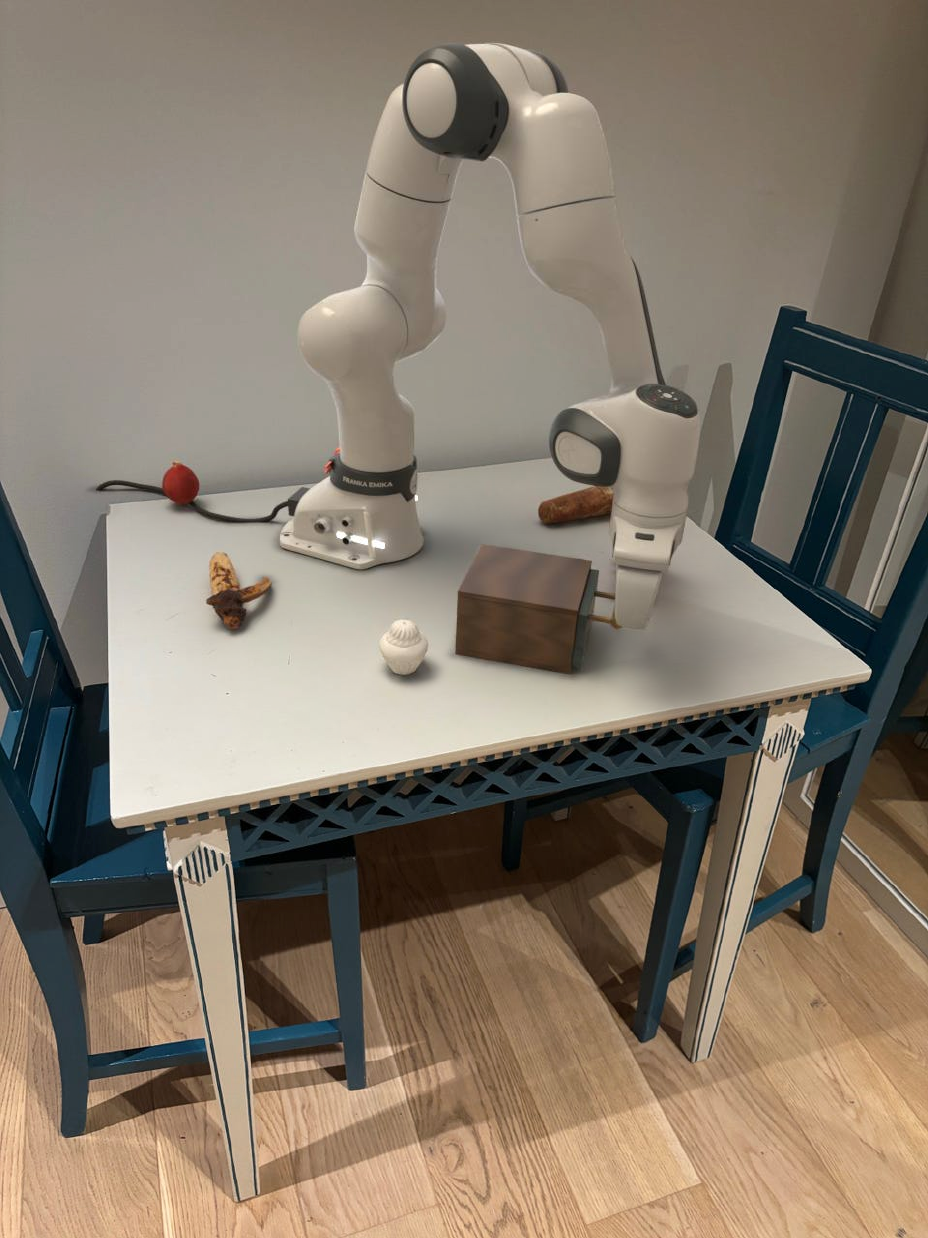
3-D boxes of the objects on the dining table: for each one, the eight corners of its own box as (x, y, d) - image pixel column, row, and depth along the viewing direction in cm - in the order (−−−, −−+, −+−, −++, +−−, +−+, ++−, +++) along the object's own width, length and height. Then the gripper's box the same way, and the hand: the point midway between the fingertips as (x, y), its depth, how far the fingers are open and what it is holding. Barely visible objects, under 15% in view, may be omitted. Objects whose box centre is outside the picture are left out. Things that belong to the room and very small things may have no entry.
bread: (644, 514, 153) (649, 484, 150) (545, 530, 147) (549, 500, 144) (625, 499, 158) (629, 470, 155) (528, 514, 151) (531, 484, 148)
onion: (186, 495, 153) (180, 451, 148) (209, 504, 150) (203, 460, 146) (158, 506, 149) (151, 461, 144) (181, 516, 146) (174, 470, 142)
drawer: (624, 624, 122) (632, 575, 118) (615, 673, 112) (623, 621, 108) (493, 602, 125) (497, 553, 121) (473, 648, 116) (476, 597, 111)
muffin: (397, 648, 117) (397, 603, 113) (437, 663, 114) (438, 617, 110) (369, 671, 112) (368, 625, 108) (410, 688, 109) (410, 641, 106)
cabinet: (583, 620, 124) (591, 560, 119) (569, 674, 113) (578, 610, 108) (478, 603, 127) (481, 543, 122) (455, 653, 116) (457, 590, 111)
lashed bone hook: (281, 630, 120) (264, 563, 134) (280, 600, 117) (263, 535, 131) (210, 638, 117) (200, 569, 131) (207, 608, 114) (197, 541, 129)
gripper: (628, 486, 116) (615, 578, 124) (611, 558, 99) (598, 659, 107) (677, 492, 115) (661, 585, 123) (669, 566, 98) (651, 668, 106)
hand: (631, 620), depth 115 cm, fingers closed, pressing on drawer
